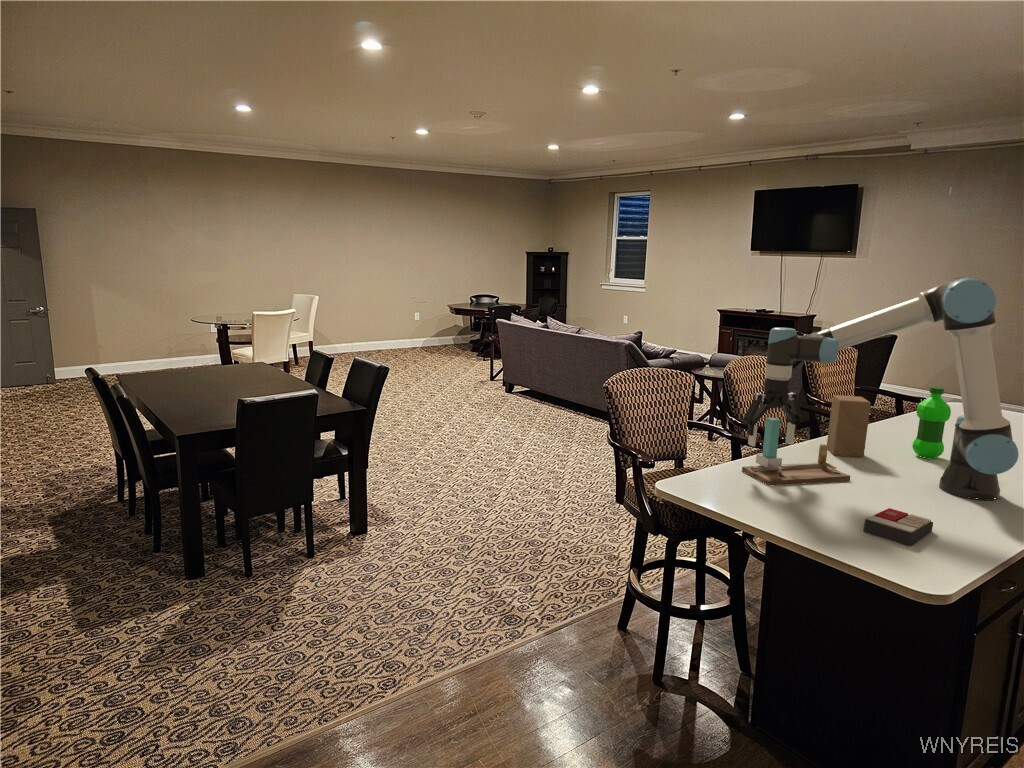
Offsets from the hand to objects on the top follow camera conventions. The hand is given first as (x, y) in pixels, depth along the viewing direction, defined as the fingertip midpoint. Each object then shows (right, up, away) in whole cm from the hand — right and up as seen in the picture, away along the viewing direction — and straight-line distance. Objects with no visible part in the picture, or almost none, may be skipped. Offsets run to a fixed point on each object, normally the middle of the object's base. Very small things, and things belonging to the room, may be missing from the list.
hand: (770, 444), depth 209 cm
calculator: (+16, -19, -41) cm, 48 cm away
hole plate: (+8, -10, +1) cm, 13 cm away
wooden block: (+38, -6, +29) cm, 48 cm away
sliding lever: (0, -8, 0) cm, 8 cm away
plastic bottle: (+66, -7, +28) cm, 72 cm away
